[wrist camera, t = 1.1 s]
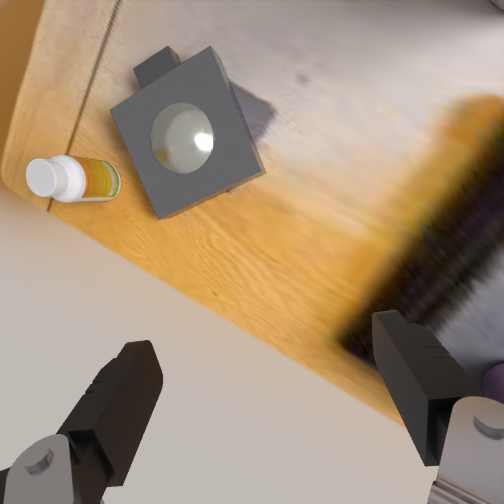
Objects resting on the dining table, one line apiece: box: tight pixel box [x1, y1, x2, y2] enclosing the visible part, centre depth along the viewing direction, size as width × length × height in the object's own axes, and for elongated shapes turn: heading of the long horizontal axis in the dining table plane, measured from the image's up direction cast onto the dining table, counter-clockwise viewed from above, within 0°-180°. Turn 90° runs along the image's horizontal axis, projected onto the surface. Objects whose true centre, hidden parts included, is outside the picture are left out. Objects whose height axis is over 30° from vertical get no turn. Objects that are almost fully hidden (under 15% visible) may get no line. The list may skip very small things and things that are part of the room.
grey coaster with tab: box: [110, 46, 266, 220], centre depth 35 cm, size 17×14×3 cm
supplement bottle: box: [26, 155, 121, 203], centre depth 36 cm, size 5×5×10 cm
